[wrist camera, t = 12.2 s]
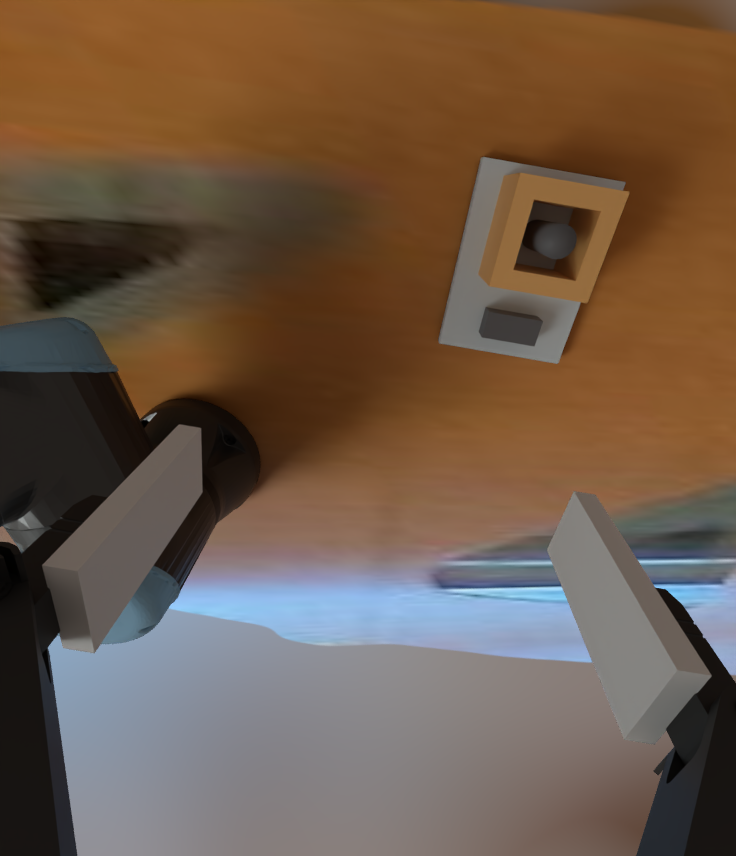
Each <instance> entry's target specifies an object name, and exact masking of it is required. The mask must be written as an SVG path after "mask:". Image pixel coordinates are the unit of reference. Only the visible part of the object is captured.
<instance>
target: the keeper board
mask: <svg viewBox="0 0 736 856" xmlns="http://www.w3.org/2000/svg"><path fill="white" fill-rule="evenodd" d="M515 173H526V174H532V175H537V176H543V177H549V178H554V179H560V180H565V181H571V182H577V183H582V184H588V185H594V186H599V187H605V188H610V189H616V190H622V191H623V189H624V186H625V183H626V182H622V181H616V180H611V179H605V178H599V177H594V176H588V175H582V174H577V173H571V172H565V171H560V170H554V169H549V168H543V167H537V166H532V165H526V164H520V163H515V162H509V161H504V160H498V159H492V158H487V157H482V158H481V160H480V164H479V169H478V173H477V177H476V181H475V186H474V190H473V194H472V198H471V203H470V207H469V211H468V215H467V220H466V224H465V228H464V232H463V237H462V241H461V245H460V249H459V254H458V258H457V262H456V266H455V271H454V275H453V279H452V283H451V287H450V292H449V296H448V300H447V304H446V309H445V313H444V317H443V321H442V326H441V330H440V334H439V338H438V341H439V343H440V344H446V345H452V346H458V347H463V348H469V349H475V350H481V351H487V352H492V353H498V354H504V355H510V356H516V357H521V358H527V359H533V360H539V361H544V362H550V363H556V364H558V362H559V360H560V357H561V354H562V352H563V349H564V346H565V344H566V341H567V338H568V336H569V333H570V330H571V328H572V325H573V322H574V320H575V317H576V314H577V312H578V309H579V306H580V304H581V302H576V301H571V300H565V299H559V298H553V297H548V296H542V295H536V294H531V293H525V292H519V291H513V290H508V289H502V288H496V287H490V286H489V285H488V284H487V283H486V282H485V281H484V280H483V279H482V278H481V277H480V276H479V275H478V273H479V269H480V265H481V261H482V257H483V254H484V250H485V246H486V242H487V238H488V234H489V231H490V227H491V223H492V219H493V215H494V211H495V207H496V204H497V200H498V196H499V192H500V188H501V184H502V181H503V177H504V176H505V175H510V174H515ZM572 212H573V209H571V208H566V207H560V206H554V205H549V204H543V203H537V202H533V205H532V209H531V212H530V216H529V219H528V222H527V226H526V229H525V232H524V236H523V239H522V243H521V246H520V249H519V253H518V256H517V260H516V263H518V264H523V265H529V266H535V267H541V268H546V269H552V270H553V269H554V266H555V263H556V260H557V259H562V258H564V257H566V256H568V255H569V254H570V253H571V252H572V251H573V249H574V247H575V245H576V241H577V236H576V232H575V231H574V229H573V228H572V227H571V226H569V225H568V224H569V221H570V218H571V215H572Z"/></svg>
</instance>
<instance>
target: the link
mask: <svg viewBox="0 0 736 856" xmlns="http://www.w3.org/2000/svg"><path fill="white" fill-rule="evenodd" d="M629 193H630V192H627V191H622V190H616V189H610V188H605V187H599V186H594V185H588V184H582V183H577V182H571V181H565V180H560V179H554V178H549V177H543V176H537V175H532V174H526V173H515V174H510V175H505V176H504V177H503V181H502V184H501V188H500V192H499V196H498V200H497V204H496V207H495V211H494V215H493V219H492V223H491V227H490V231H489V234H488V238H487V242H486V246H485V250H484V254H483V257H482V261H481V265H480V269H479V273H478V275H479V276H480V277H481V278H482V279H483V280H484V281H485V282H486V283H487V284H488V285H489V286H490V287H496V288H502V289H508V290H513V291H519V292H525V293H531V294H536V295H542V296H548V297H553V298H559V299H565V300H571V301H576V302H582V303H588V300H589V298H590V295H591V292H592V290H593V287H594V285H595V282H596V279H597V277H598V274H599V271H600V269H601V266H602V264H603V261H604V258H605V256H606V253H607V251H608V248H609V245H610V243H611V240H612V237H613V235H614V232H615V230H616V227H617V224H618V222H619V219H620V216H621V214H622V211H623V209H624V206H625V203H626V201H627V198H628V196H629ZM533 202H537V203H543V204H549V205H554V206H560V207H566V208H571V209H573V212H572V215H571V218H570V221H569V224H568V225H569V226H571V227H572V228H573V229H574V231H575V232H576V236H577V241H576V245H575V247H574V249H573V251H572V252H571V253H570V254H569V255H568V256H566V257H564V258H562V259H557V260H556V263H555V266H554V269H553V270H552V269H546V268H541V267H535V266H529V265H523V264H518V263H516V260H517V256H518V253H519V249H520V246H521V243H522V239H523V236H524V232H525V229H526V226H527V222H528V219H529V216H530V212H531V209H532V205H533Z"/></svg>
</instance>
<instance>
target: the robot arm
mask: <svg viewBox="0 0 736 856" xmlns="http://www.w3.org/2000/svg"><path fill="white" fill-rule="evenodd" d="M117 371H119V370H118V368H117V366H116V365H114V364H112V362H111V360H110V359H109V357H108V355H107V354H106V352H105V350H104V348H103V346H102V345H101V343H100V341H99V339H98V337H97V336H96V334H95V332H94V331H93V330H92V329H91V328H90V327H89V326H88V325H87V324H85V323H84V322H82V321H80V320H77V319H74V318H67V317H62V318H52V319H44V320H37V321H30V322H23V323H17V324H10V325H4V326H0V527H1V526H3V527H4V528H5V529H6V531H7V532H8V533H9V535H10V536H11V538H12V539H13V541H14V542H15V543H16V545H17V546H18V547H19V548H18V547H17V546H15V545H13V544H11V543H9V542H0V856H77V850H76V843H75V837H74V828H73V821H72V815H71V807H70V800H69V792H68V785H67V778H66V771H65V763H64V756H63V749H62V741H61V734H60V728H59V720H58V712H57V706H56V698H55V691H54V684H53V676H52V670H51V662H50V655H49V651H48V646H49V645H50V644H51V642H52V641H53V640H54V639H55V637H56V636H57V635H58V636H60V637H61V642H62V646H63V648H66V649H72V650H78V651H84V652H90V653H95V652H96V650H97V649H98V647H99V646H100V644H116V643H123V642H128V641H131V640H134V639H137V638H140V637H142V636H144V635H145V634H147V633H148V632H149V631H151V630H152V629H153V628H154V627H155V626H156V625H157V624H158V623H159V622H160V620H161V619H162V617H163V616H164V614H165V612H166V611H167V609H168V608H169V606H170V605H171V604H172V603H173V602H174V601H175V600H176V599H177V598H178V596H179V593H180V590H181V589H182V587H183V585H184V583H185V581H186V579H187V577H188V576H189V574H190V572H191V570H192V568H193V566H194V564H195V563H196V561H197V559H198V557H199V555H200V553H201V551H202V549H203V548H204V546H205V544H206V542H207V540H208V538H209V536H210V535H211V533H212V531H213V529H214V527H215V525H216V524H217V523H218V522H219V521H220V520H222V519H223V518H224V517H226V516H227V515H228V514H229V513H231V512H232V511H233V510H235V509H236V508H238V507H239V506H241V505H242V504H243V503H244V502H245V501H246V499H247V498H248V497H249V495H250V494H251V492H252V490H253V488H254V486H255V484H256V482H257V480H258V477H259V473H260V456H259V452H258V449H257V446H256V443H255V441H254V439H253V438H252V436H251V434H250V433H249V432H248V430H247V429H246V428H245V427H244V425H243V424H242V423H241V422H240V421H239V420H237V419H236V418H235V417H234V416H232V415H231V414H230V413H228V412H227V411H225V410H223V409H222V408H220V407H217V406H215V405H213V404H210V403H207V402H204V401H199V400H193V399H176V400H171V401H167V402H164V403H162V404H159V405H157V406H156V407H154V408H153V409H151V410H150V411H149V412H148V413H147V414H145V415H144V416H143V417H142V418H141V419H139V417H138V415H137V413H136V410H135V408H134V406H133V404H132V402H131V400H130V398H129V396H128V394H127V392H126V389H125V387H124V385H123V383H122V381H121V379H120V377H119V375H118V373H117ZM19 549H20V550H19ZM547 551H548V554H549V556H550V559H551V561H552V564H553V566H554V568H555V571H556V573H557V576H558V578H559V581H560V583H561V586H562V588H563V591H564V593H565V595H566V598H567V600H568V603H569V605H570V608H571V610H572V613H573V615H574V618H575V620H576V623H577V625H578V627H579V630H580V632H581V635H582V637H583V640H584V642H585V645H586V647H587V650H588V652H589V654H590V657H591V659H592V662H593V664H594V667H595V669H596V672H597V674H598V676H599V679H600V681H601V684H602V686H603V689H604V691H605V694H606V696H607V699H608V701H609V704H610V706H611V708H612V711H613V713H614V716H615V718H616V721H617V723H618V726H619V728H620V731H621V733H622V735H623V738H624V740H630V741H636V742H642V743H648V744H655V743H656V742H657V741H658V740H659V739H660V737H661V736H662V735H663V734H664V733H665V731H666V730H667V732H668V734H669V736H670V738H671V741H672V743H673V745H674V748H673V749H672V750H671V751H670V752H669V753H668V755H667V756H666V757H665V758H664V759H663V760H662V762H661V763H660V764H659V765H658V766H657V767H656V769H655V770H654V772H655V773H656V774H657V775H659V774H660V773H661V771H662V770H663V772H662V775H661V778H660V781H659V785H658V788H657V791H656V794H655V798H654V801H653V804H652V807H651V810H650V813H649V817H648V820H647V823H646V827H645V829H644V833H643V836H642V839H641V842H640V846H639V849H638V852H637V855H636V856H736V683H735V681H734V680H733V678H732V677H731V675H730V674H729V672H728V671H727V670H726V668H725V667H724V665H723V664H722V662H721V661H720V659H719V658H718V656H717V655H716V653H715V652H714V650H713V649H712V648H711V646H710V645H709V643H708V642H707V640H706V639H705V638H703V634H702V633H701V631H700V630H699V629H698V627H697V626H696V625H694V623H693V622H694V621H693V620H692V618H691V617H690V615H689V614H688V612H687V611H686V609H685V608H684V607H683V605H682V604H681V603H680V602H679V601H678V600H677V599H675V598H674V597H673V596H672V595H671V594H670V593H669V592H668V591H667V590H666V589H660V588H655V587H654V585H653V584H652V582H651V580H650V579H649V577H648V576H647V574H646V573H645V571H644V570H643V568H642V566H641V565H640V563H639V562H638V560H637V559H636V557H635V556H634V554H633V552H632V551H631V549H630V548H629V546H628V545H627V543H626V542H625V540H624V538H623V537H622V535H621V534H620V532H619V531H618V529H617V528H616V526H615V524H614V523H613V521H612V520H611V518H610V517H609V515H608V514H607V512H606V510H605V509H604V507H603V506H602V504H601V503H600V501H599V500H598V498H597V496H596V495H594V494H588V493H582V492H576V491H574V492H573V494H572V496H571V499H570V501H569V503H568V505H567V507H566V510H565V512H564V514H563V516H562V518H561V521H560V523H559V525H558V527H557V529H556V531H555V534H554V536H553V538H552V540H551V542H550V545H549V547H548V549H547Z"/></svg>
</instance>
